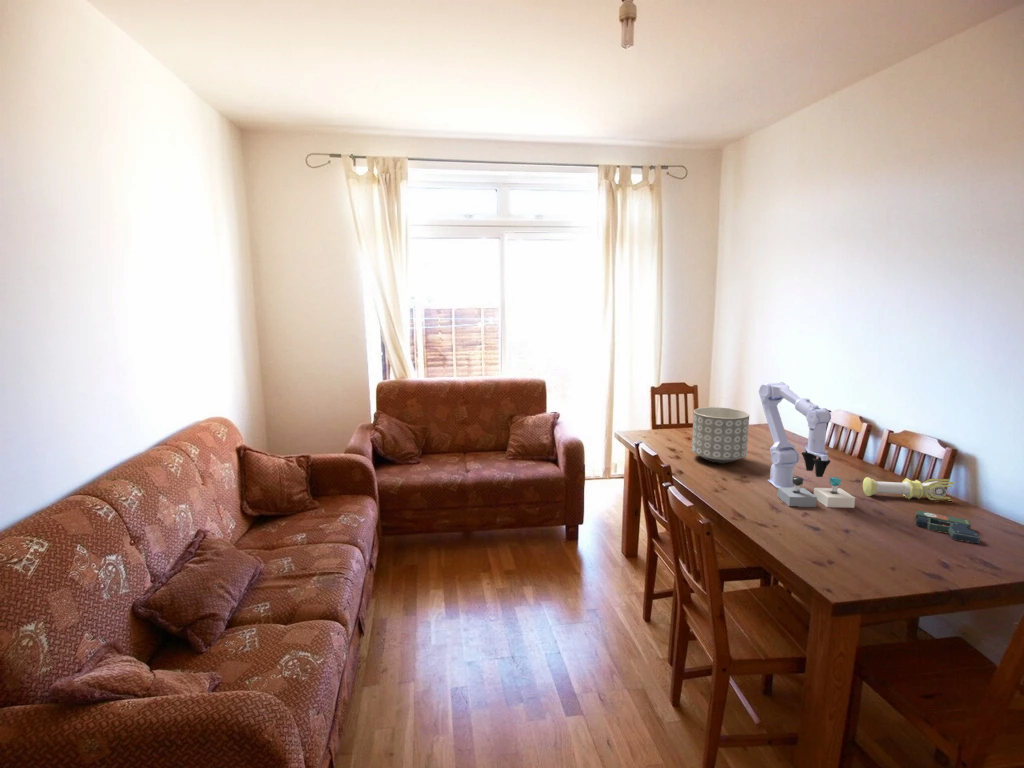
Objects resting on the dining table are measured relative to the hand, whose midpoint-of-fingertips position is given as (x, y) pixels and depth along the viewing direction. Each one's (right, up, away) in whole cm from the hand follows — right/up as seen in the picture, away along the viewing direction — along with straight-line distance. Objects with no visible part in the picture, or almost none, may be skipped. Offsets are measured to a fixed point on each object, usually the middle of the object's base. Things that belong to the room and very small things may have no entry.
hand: (814, 473), depth 202 cm
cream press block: (+6, -11, -2) cm, 13 cm away
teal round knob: (+6, -7, -2) cm, 10 cm away
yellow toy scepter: (+38, -10, +3) cm, 39 cm away
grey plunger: (-8, -7, -1) cm, 11 cm away
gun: (+29, -15, -27) cm, 42 cm away
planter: (-17, -3, +52) cm, 55 cm away
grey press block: (-8, -11, -1) cm, 13 cm away
